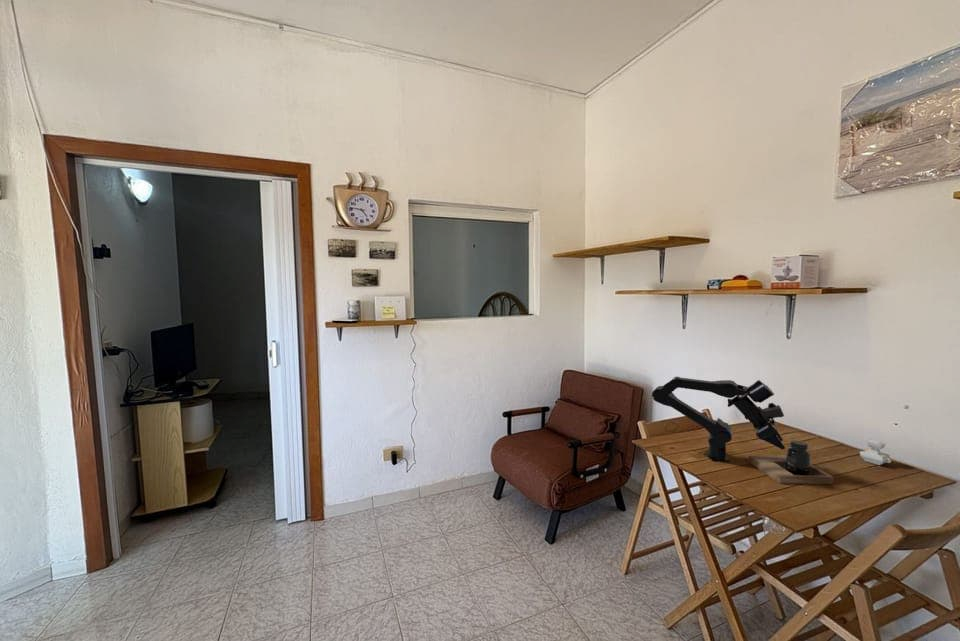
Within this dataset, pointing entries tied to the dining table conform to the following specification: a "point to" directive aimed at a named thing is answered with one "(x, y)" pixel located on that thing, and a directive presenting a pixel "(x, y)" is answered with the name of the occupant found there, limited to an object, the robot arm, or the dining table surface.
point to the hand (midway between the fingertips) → (782, 444)
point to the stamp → (875, 453)
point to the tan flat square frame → (776, 471)
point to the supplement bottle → (798, 458)
